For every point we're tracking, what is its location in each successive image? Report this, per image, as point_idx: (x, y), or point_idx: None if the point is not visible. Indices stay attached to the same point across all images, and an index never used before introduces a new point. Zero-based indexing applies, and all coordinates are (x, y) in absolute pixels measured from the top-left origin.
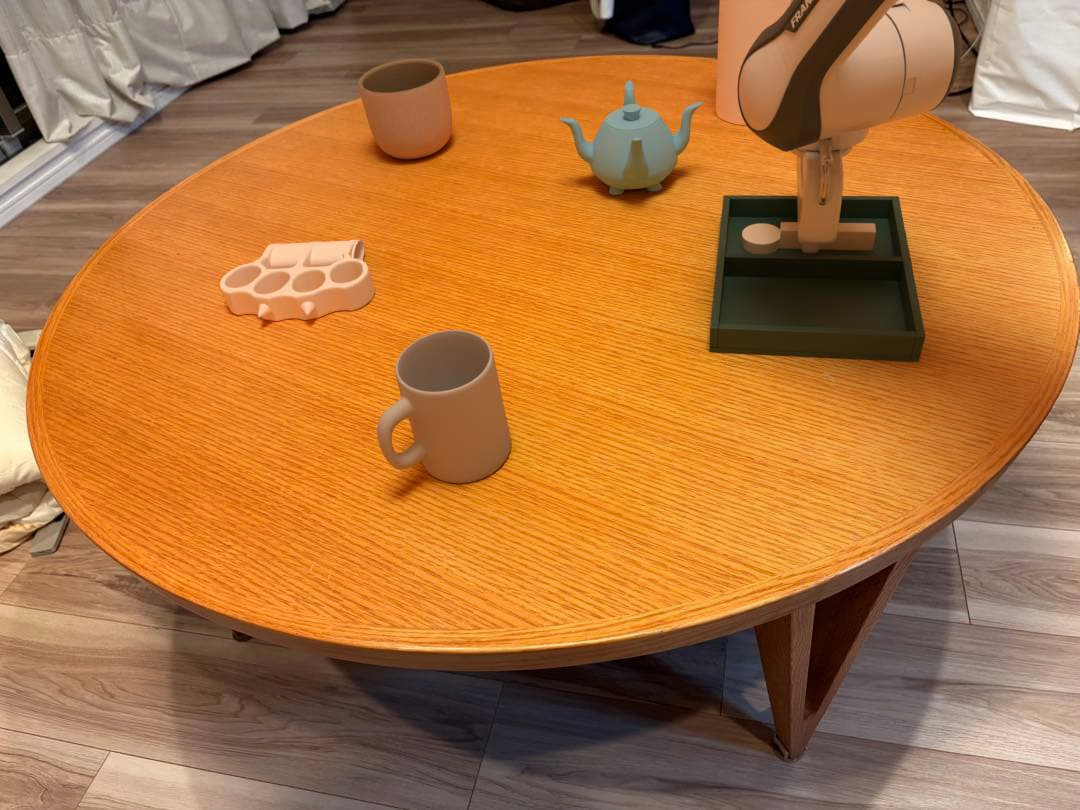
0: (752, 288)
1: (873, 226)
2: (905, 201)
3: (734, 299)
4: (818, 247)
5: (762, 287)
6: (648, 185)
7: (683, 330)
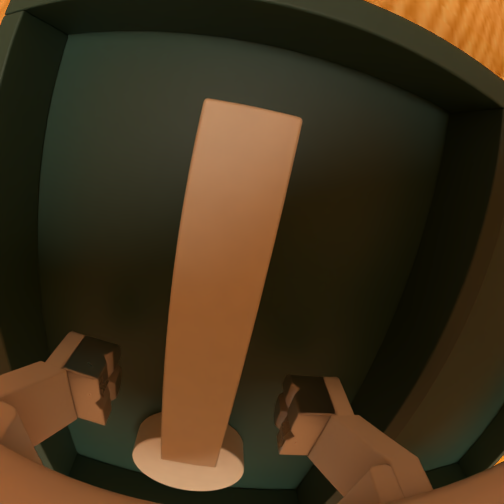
0: None
1: (240, 114)
2: (3, 3)
3: None
4: (343, 389)
5: None
6: None
7: None
